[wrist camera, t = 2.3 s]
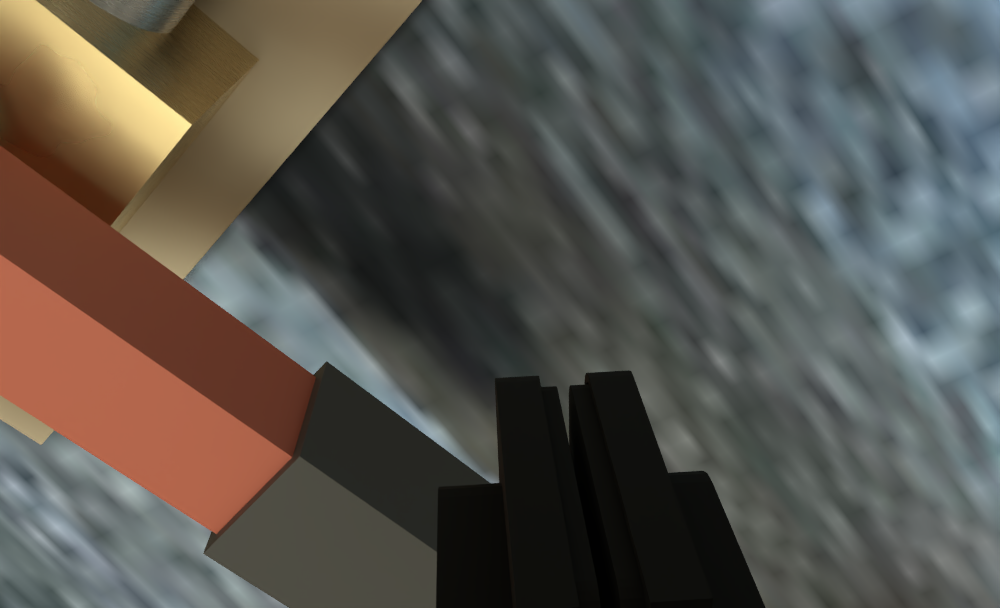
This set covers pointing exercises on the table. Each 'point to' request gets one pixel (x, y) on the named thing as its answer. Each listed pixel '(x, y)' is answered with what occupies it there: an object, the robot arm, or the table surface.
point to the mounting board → (252, 124)
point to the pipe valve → (111, 92)
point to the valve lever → (213, 413)
